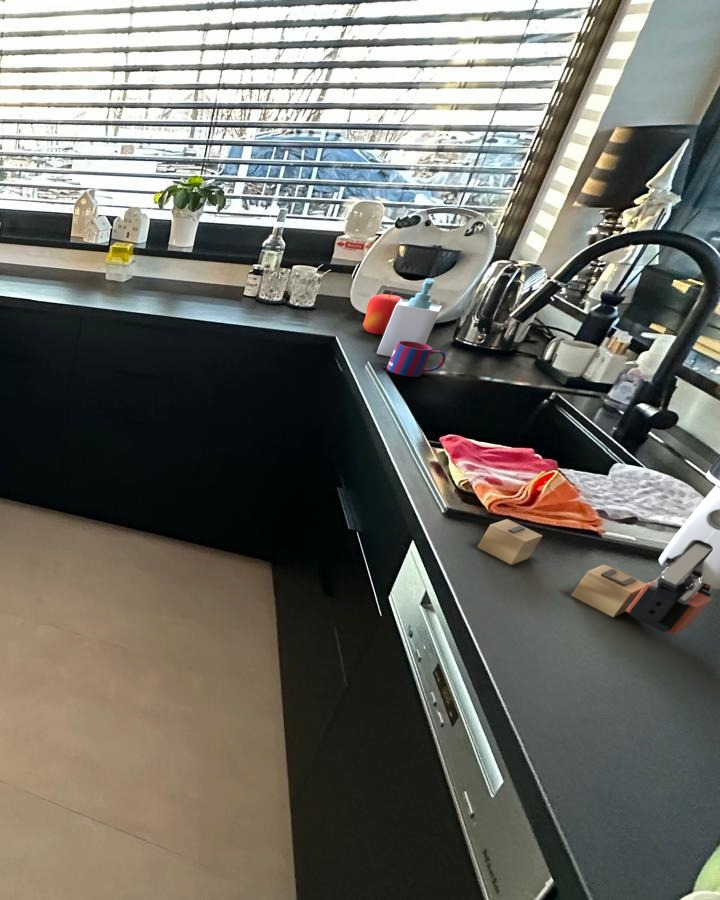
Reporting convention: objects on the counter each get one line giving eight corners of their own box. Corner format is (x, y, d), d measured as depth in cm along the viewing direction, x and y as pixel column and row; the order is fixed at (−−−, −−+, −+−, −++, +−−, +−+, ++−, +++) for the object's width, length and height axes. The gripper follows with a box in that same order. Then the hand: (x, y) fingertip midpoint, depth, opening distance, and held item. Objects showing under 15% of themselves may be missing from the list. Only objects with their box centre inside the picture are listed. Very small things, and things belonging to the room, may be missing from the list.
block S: (625, 610, 71) (647, 582, 69) (642, 602, 73) (664, 574, 71) (672, 635, 68) (697, 605, 66) (689, 626, 69) (714, 597, 67)
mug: (384, 365, 151) (396, 338, 148) (434, 374, 147) (447, 347, 144) (387, 374, 146) (399, 346, 142) (439, 383, 142) (452, 354, 138)
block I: (475, 549, 84) (490, 523, 82) (493, 543, 85) (508, 517, 83) (510, 566, 81) (526, 540, 79) (527, 560, 82) (543, 534, 80)
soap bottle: (375, 354, 159) (406, 278, 150) (381, 346, 165) (410, 273, 156) (416, 362, 154) (450, 285, 145) (420, 354, 160) (453, 280, 151)
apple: (387, 330, 180) (404, 289, 174) (398, 338, 173) (416, 296, 167) (354, 326, 182) (369, 285, 176) (363, 334, 175) (380, 292, 169)
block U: (569, 597, 76) (588, 570, 74) (586, 589, 77) (605, 562, 75) (611, 619, 72) (632, 591, 70) (628, 610, 74) (649, 583, 72)
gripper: (794, 514, 55) (667, 661, 64) (861, 483, 62) (737, 621, 70) (679, 473, 61) (577, 613, 70) (750, 449, 68) (649, 580, 76)
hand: (658, 616), depth 70 cm, fingers closed on block S, 4 cm apart
